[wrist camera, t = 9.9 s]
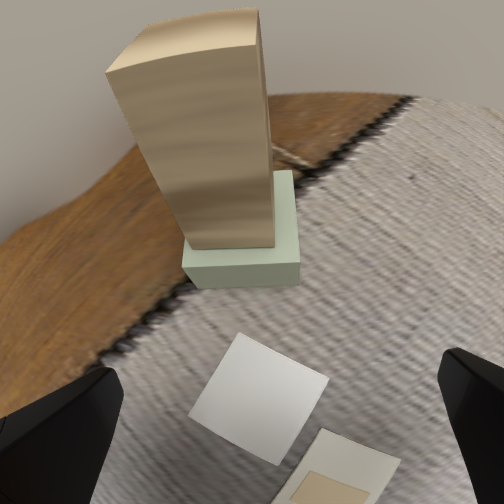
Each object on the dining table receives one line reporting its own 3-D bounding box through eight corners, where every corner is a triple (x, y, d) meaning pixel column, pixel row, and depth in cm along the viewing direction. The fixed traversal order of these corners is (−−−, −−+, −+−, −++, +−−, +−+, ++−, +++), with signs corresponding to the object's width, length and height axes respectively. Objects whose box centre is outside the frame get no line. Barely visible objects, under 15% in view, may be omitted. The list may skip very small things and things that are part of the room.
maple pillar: (274, 247, 18) (255, 44, 7) (191, 249, 18) (105, 73, 8) (274, 182, 20) (257, 6, 10) (201, 185, 21) (148, 24, 10)
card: (334, 550, 12) (336, 554, 11) (255, 522, 13) (254, 525, 13) (399, 458, 14) (402, 460, 14) (321, 427, 16) (322, 428, 16)
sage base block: (298, 286, 21) (300, 262, 17) (199, 290, 22) (181, 267, 18) (292, 203, 24) (291, 169, 21) (205, 209, 25) (193, 177, 21)
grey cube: (280, 449, 16) (277, 466, 12) (211, 412, 17) (187, 415, 13) (319, 382, 18) (329, 377, 13) (250, 348, 19) (238, 332, 15)
